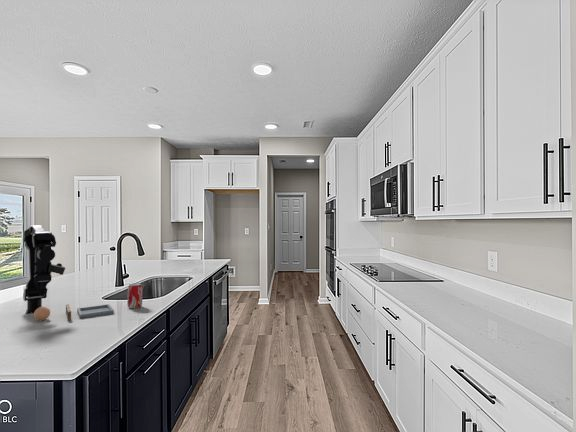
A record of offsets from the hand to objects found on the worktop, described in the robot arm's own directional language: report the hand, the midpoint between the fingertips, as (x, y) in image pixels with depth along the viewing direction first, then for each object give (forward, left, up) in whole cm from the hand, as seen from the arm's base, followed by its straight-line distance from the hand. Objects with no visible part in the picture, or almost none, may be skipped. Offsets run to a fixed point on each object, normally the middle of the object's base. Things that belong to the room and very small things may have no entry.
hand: (42, 294), depth 152 cm
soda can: (0, +39, -12) cm, 41 cm away
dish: (0, +21, -12) cm, 24 cm away
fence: (0, +10, -12) cm, 15 cm away
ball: (0, 0, -9) cm, 9 cm away
